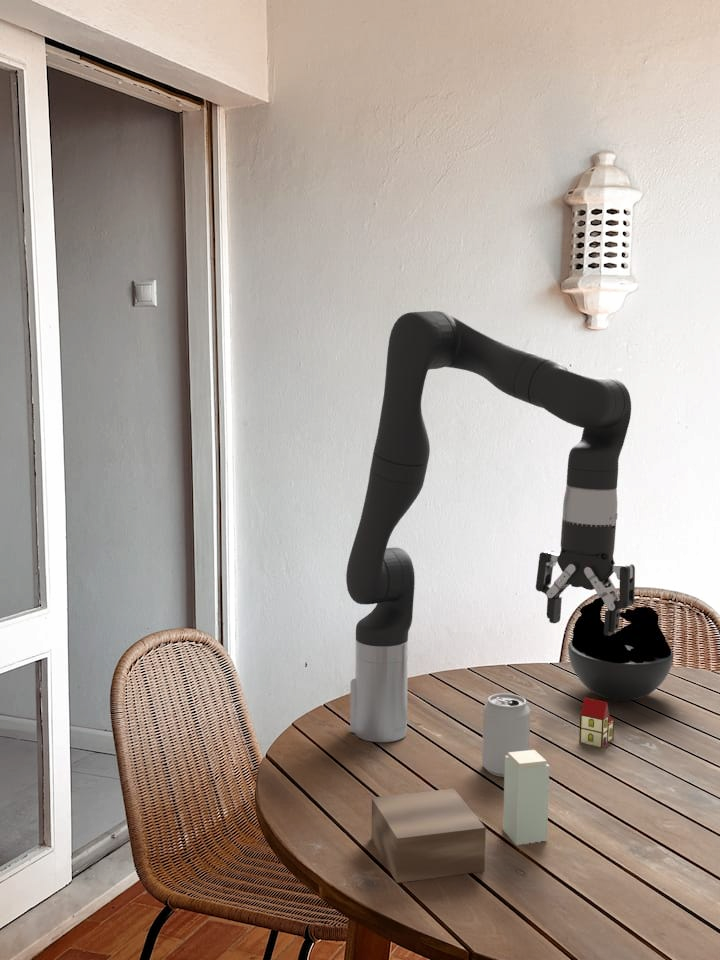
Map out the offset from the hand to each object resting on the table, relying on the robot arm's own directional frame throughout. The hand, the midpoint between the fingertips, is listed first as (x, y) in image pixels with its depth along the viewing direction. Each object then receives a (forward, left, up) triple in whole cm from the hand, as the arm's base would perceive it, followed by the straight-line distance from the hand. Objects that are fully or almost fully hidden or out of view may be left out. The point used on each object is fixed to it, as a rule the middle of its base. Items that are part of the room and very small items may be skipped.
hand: (581, 628), depth 143 cm
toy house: (-10, +29, -29) cm, 42 cm away
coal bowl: (-14, +50, -28) cm, 59 cm away
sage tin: (-2, -12, -28) cm, 30 cm away
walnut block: (-10, -25, -28) cm, 38 cm away
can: (-15, +6, -28) cm, 32 cm away
